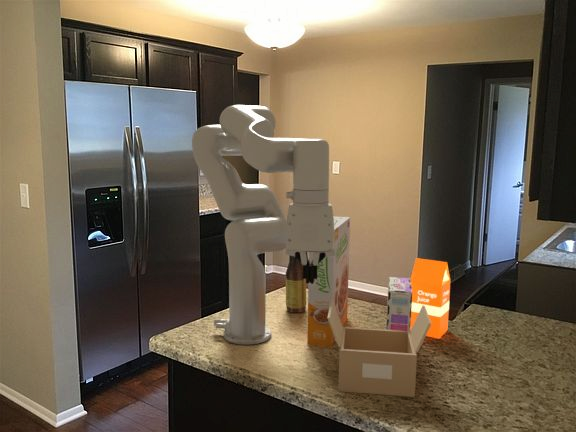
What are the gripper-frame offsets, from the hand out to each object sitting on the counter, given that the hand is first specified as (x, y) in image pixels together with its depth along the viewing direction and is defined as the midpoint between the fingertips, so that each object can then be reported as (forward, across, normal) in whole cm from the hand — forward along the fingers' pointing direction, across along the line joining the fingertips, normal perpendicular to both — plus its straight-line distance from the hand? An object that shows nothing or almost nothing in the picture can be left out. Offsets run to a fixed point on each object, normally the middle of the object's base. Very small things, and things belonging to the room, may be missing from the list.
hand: (310, 281), depth 114 cm
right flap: (+9, +23, 0) cm, 25 cm away
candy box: (+22, +20, +21) cm, 36 cm away
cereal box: (+21, +2, +29) cm, 36 cm away
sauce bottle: (+21, -8, +44) cm, 49 cm away
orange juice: (+22, +30, +33) cm, 49 cm away
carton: (+22, +14, +1) cm, 26 cm away
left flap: (+9, +6, 0) cm, 11 cm away
